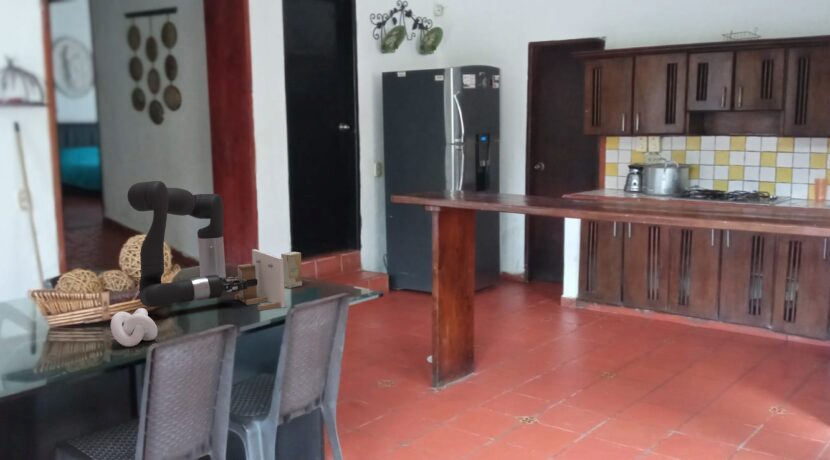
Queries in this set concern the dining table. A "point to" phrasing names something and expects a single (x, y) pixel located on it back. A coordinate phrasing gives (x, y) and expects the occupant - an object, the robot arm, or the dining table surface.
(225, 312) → the dining table surface
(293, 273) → the skincare box
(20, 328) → the dining table surface
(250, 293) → the frame block
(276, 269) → the white upright flat panel
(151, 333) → the white knot sculpture
